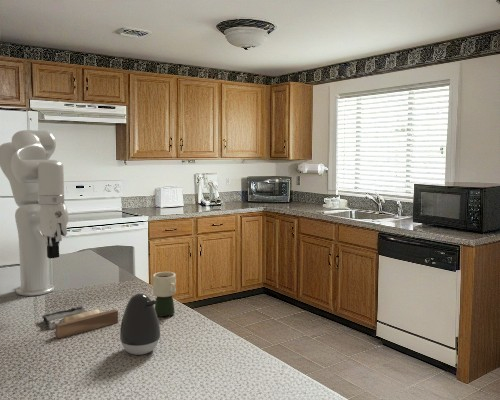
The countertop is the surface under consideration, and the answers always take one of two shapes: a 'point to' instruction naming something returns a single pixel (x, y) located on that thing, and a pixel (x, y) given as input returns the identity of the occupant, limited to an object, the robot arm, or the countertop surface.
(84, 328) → the stop rail
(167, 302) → the character mug
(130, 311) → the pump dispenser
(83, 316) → the roller
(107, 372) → the countertop surface
